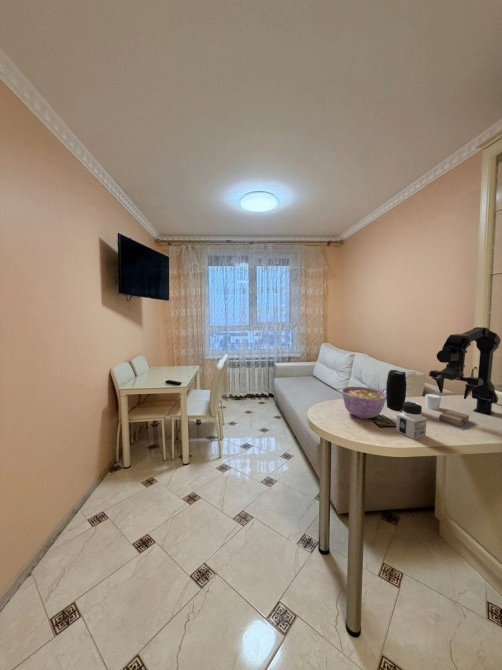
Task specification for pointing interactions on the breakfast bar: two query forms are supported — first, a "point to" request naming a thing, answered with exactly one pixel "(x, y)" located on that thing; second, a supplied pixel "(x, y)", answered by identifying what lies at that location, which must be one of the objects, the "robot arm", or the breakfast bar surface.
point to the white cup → (433, 401)
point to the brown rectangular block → (454, 418)
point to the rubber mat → (456, 426)
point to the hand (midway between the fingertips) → (452, 395)
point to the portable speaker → (396, 389)
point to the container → (411, 421)
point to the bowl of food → (363, 401)
